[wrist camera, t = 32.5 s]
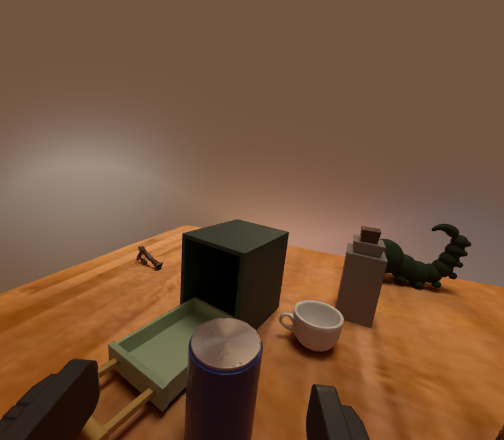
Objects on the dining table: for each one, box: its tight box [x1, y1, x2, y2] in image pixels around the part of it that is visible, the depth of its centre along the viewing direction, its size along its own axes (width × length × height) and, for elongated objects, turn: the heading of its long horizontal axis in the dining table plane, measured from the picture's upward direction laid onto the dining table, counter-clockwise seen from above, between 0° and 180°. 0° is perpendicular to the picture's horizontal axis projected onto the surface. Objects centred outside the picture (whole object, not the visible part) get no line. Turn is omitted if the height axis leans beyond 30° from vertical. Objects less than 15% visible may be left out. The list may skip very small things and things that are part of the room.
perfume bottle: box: [336, 226, 388, 328], centre depth 48 cm, size 7×7×18 cm
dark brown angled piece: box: [136, 246, 163, 270], centre depth 62 cm, size 2×8×4 cm, turn 63°
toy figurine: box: [380, 224, 471, 289], centre depth 66 cm, size 9×19×25 cm
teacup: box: [279, 300, 344, 351], centre depth 40 cm, size 10×8×5 cm
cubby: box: [180, 220, 289, 330], centre depth 44 cm, size 15×12×16 cm
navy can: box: [184, 318, 263, 440], centre depth 23 cm, size 6×6×13 cm
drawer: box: [82, 297, 235, 440], centre depth 32 cm, size 21×10×3 cm, turn 148°
